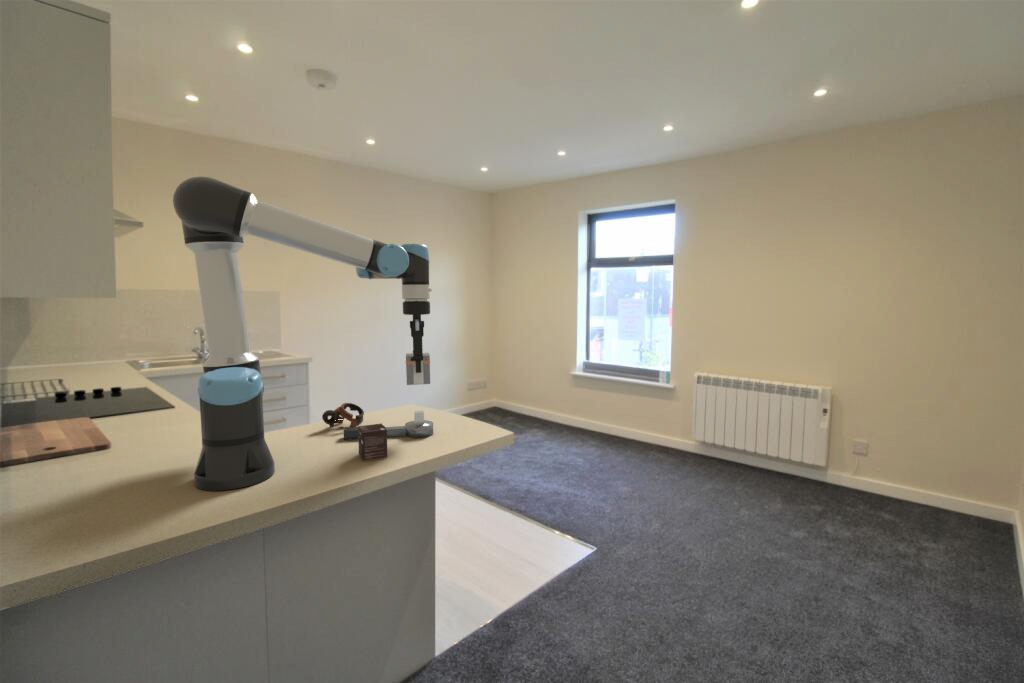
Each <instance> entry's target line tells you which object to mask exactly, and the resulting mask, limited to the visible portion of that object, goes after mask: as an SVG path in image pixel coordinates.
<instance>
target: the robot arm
mask: <svg viewBox="0 0 1024 683" xmlns="http://www.w3.org/2000/svg"><path fill="white" fill-rule="evenodd" d="M172 204H173V209H174V212H175V213H176V215H177V217H178V219H180V220H181V226H182V231H183V232H182V233H183V239H184V246H185V247H186V248H187V249H188V250H190V251H191V252H192V253H193V254H194V260H195V266H196V267H195V268H196V274H197V280H198V286H199V288H198V289H199V293H200V294H199V295H200V302H201V307H202V308H201V309H202V314H203V320H204V321H203V322H204V329H205V336H206V343H207V349H208V358H207V359H206V360H205V361H204V363H202V368H203V374H202V375H201V376H200V378H199V380H198V386H197V394H198V396H199V410H200V411H199V413H200V414H199V415H200V427H201V428H200V431H201V433H200V434H201V445H202V446H201V451H200V454H199V457H198V460H197V463H196V467H195V470H194V474H193V478H194V479H193V481H194V486H195V487H196V488H197V489H198V490H204V491H212V492H213V491H214V492H215V491H216V492H217V491H227V490H230V491H231V490H235V489H241V488H246V487H248V486H253V485H255V484H259V483H261V482H263V481H266V480H268V479H270V478H271V477H272V476H273V475H274V474H275V472H276V470H275V469H276V468H275V461H274V458H273V455H272V453H271V451H270V449H269V446H268V444H267V442H266V441H267V440H266V439H265V423H264V422H265V421H264V405H263V404H264V392H265V385H264V380H263V379H262V371H261V365H260V358H259V357H258V356H257V355H256V354H254V353H252V351H251V343H250V342H251V341H250V336H249V329H248V328H249V327H248V321H247V314H246V306H245V305H246V304H245V299H244V291H243V284H242V276H241V268H240V261H239V260H240V259H239V252H240V250H241V249H242V248H243V247H244V237H245V236H246V235H248V236H249V235H250V236H253V237H256V238H259V239H263V240H266V241H269V242H273V243H276V244H279V245H283V246H285V247H288V248H292V249H296V250H299V251H303V252H306V253H309V254H312V255H316V256H319V257H322V258H326V259H329V260H332V261H336V262H337V263H338V262H339V263H342V264H344V265H349V266H352V267H355V271H356V275H357V277H358V278H360V279H368V280H373V279H375V280H378V279H380V280H381V279H383V280H384V279H385V280H387V279H389V280H390V279H394V280H395V279H397V280H400V279H401V297H402V300H404V301H402V314H403V315H405V316H406V315H407V316H412V320H409V328H410V336H411V338H412V349H413V350H412V353H413V358H411V361H413V376H414V384H419V385H425V384H424V377H423V353H424V352H423V337H424V335H425V334H424V328H425V321H424V320H422V316H423V315H430V313H431V302H430V300H429V299H430V296H431V295H430V292H432V291H433V289H432V288H431V287H430V256H429V248H428V246H427V245H426V244H422V243H404V244H402V245H399V244H395V243H385V242H381V241H379V240H375V239H373V238H369V237H367V236H364V235H362V234H358V233H355V232H354V231H349V230H346V229H344V228H341V227H338V226H335V225H331V224H329V223H326V222H323V221H321V220H317V219H314V218H311V217H308V216H306V215H302V214H299V213H296V212H293V211H291V210H288V209H285V208H282V207H279V206H276V205H273V204H270V203H267V202H264V201H261V200H258V199H257V197H256V196H255V194H254V193H253V192H249V191H247V190H244V189H241V188H239V187H236V186H234V185H231V184H229V183H226V182H223V181H221V180H219V179H216V178H213V177H210V176H209V177H208V176H193V177H190V178H187V179H185V180H184V181H182V182H181V183H180V184H179V185H178V186H177V187H176V188H175V190H174V193H173V196H172ZM428 300H429V301H428Z"/></svg>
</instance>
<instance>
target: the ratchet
mask: <svg viewBox="0 0 1024 683" xmlns="http://www.w3.org/2000/svg"><path fill="white" fill-rule="evenodd" d="M424 411H425V410H414V412H413V414H414V415H413V416H414V420H411V421H407V422H406V423H405V424H404V425H401V426H400V425H399V426H385V428H386V429H387V438H397V437H407V438H411V439H422V438H428V437H432V436H433V435H434V422H433V421H431V420H426V419H425V412H424ZM353 440H358V426H356V427H349V426H348V427H344V429H343V441H353Z"/></svg>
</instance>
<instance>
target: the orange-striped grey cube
mask: <svg viewBox="0 0 1024 683" xmlns="http://www.w3.org/2000/svg"><path fill="white" fill-rule="evenodd" d="M411 358H413V352H411V353H406V354H405V367H406V369H405V372H406V386H412V385H413V386H415V385H420V384H414V376H413V361H411ZM430 367H431V359H430V353H429V352H423V377H424V384H423V385H430V384H431V368H430Z"/></svg>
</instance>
